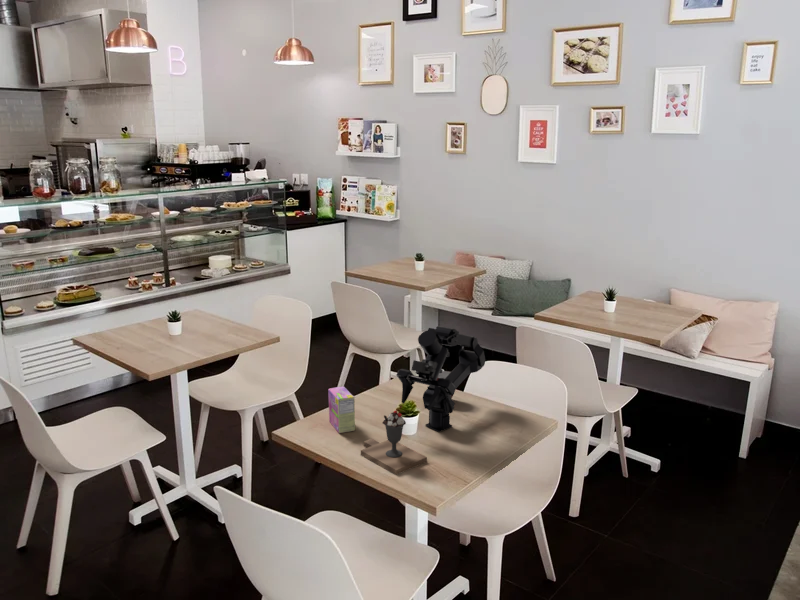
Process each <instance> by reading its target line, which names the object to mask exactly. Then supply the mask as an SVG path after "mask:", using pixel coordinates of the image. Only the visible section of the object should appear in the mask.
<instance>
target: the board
mask: <svg viewBox="0 0 800 600" xmlns="http://www.w3.org/2000/svg"><path fill="white" fill-rule="evenodd" d="M363 447H364V448H363V449H360V456H362V457H363V456H364V458H365V457H366V458H365V459H367V460H369V461H371V462H372V463H375V464H376V465H378V466H380V467H381V468H383V469H385V470H387V471H389V472H390V473H391V474H394V475H396V476H398V475H400V474H402V473H404V472H406V471H408V470H411V469H413V468H416V467H418V466H421V465H423V464H426V463H427V462H428V457H427V456H426V455H424V454H422V453H420V452H418V451H415V450H414V449H412V448H410V447H408V446H406V445H404V444H402V443H400V442H398V443H396V449H397V450H399V451H401V452H402V455H401V456H400V457H397V458H392V457H388V456H387V455H386V452H387V451H389V450H392V443H391V442H389V440H388V439H387V440H384V441H380V442H379V441H378V440H375V439H374V438H369V439H367V440H364V441H363Z"/></svg>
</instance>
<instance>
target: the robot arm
mask: <svg viewBox="0 0 800 600" xmlns="http://www.w3.org/2000/svg"><path fill="white" fill-rule="evenodd" d="M417 342H418V345H420V347H421V349H422V350H423V351H424V353H425V354H426V355H427V356H426V358H424V359H422V360H421V361H419V360H415V359H414V360H413V362H412V365H411V369H410V370H409V369H406V368H400V369H398V370H397V373H396V377H397V378H398V380H399V381H400V383H401V384H402V390H401V391H402V392H401V403H402V404H405V402H406V401H407V400H408V398H409V396H410V394H411V392H412V390H413V388H414V386H413V385H414V384H416V383H418V384H422V385H425V386H426V385H427V388H426V390H424V392H423V395H422V400H423V401H422V402H423V407H424V409H426V410H428V423H425V425H424V426H425V427H426V428H429V429H431V430H434V432H438V433H441V432H442V431H446V430H448V429H450V428H453V425H452V424H451V423H450V421H451V415H450V414H452V413H453V412H454V409H455V404H456V403H455V401H454V400H453V399H451V395H453V396H454V395H455V393H456V390H457V388H458V387H459V386H460V385H461V384H462V383H463V382H464V380H465V379H466V378H468V376H469V375H470V374H473V373H477V372H479V371H480V370H482V368H483V367H484V366H485V363H486V356H485V351H484V349H483V347H482V346H481V345H480V344H479V341H478V338H477V337H476V336H473V335H467V334H462V333H460V331H459V330H457V329H456V328H452V327H447V326H441V325H438V326H437V325H436V328H432V327H428V329H427V330H424V331H423V332H421V333H420V335H419V336H418V338H417ZM457 345H459V346H460V347H459V351H458V352H457V354H458V361H459V363H458V364H457V365H456V366H455V367H454V368H453V370H451V371H450V372H451V373H450V374H449V375H448V376H447V377H446V378H445V379H444V378H439V379H438V381H437V378H438V375H439V373H442V371H444V370H443V368H442V367H443V366H444V363H445V361H446V360H447V358H450V352H449V348H447V347H446V346H448V347H455V346H457ZM465 347H466V348H471V350H467V349H466V350H465ZM412 371H414V372H415V374H416V375H414V374H413V372H412Z"/></svg>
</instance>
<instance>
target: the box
mask: <svg viewBox="0 0 800 600" xmlns="http://www.w3.org/2000/svg"><path fill="white" fill-rule="evenodd" d="M327 391H328V415H329V416H328V417H329V419H328V420H329V423H330V424H331V426H333V428H334V429H335V431H336V432H337V433H338V434H342V433H348V432H354V431H356V421H355V419H356V415H355V414H356V410H355V405H356V404H355V400H356V399H355V396H354V395H353V394H352V393H351V392H350V391H349V390H348V389H347V388H346V387H345V386H338V387H337V386H336V387H331V388H328V390H327Z"/></svg>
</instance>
